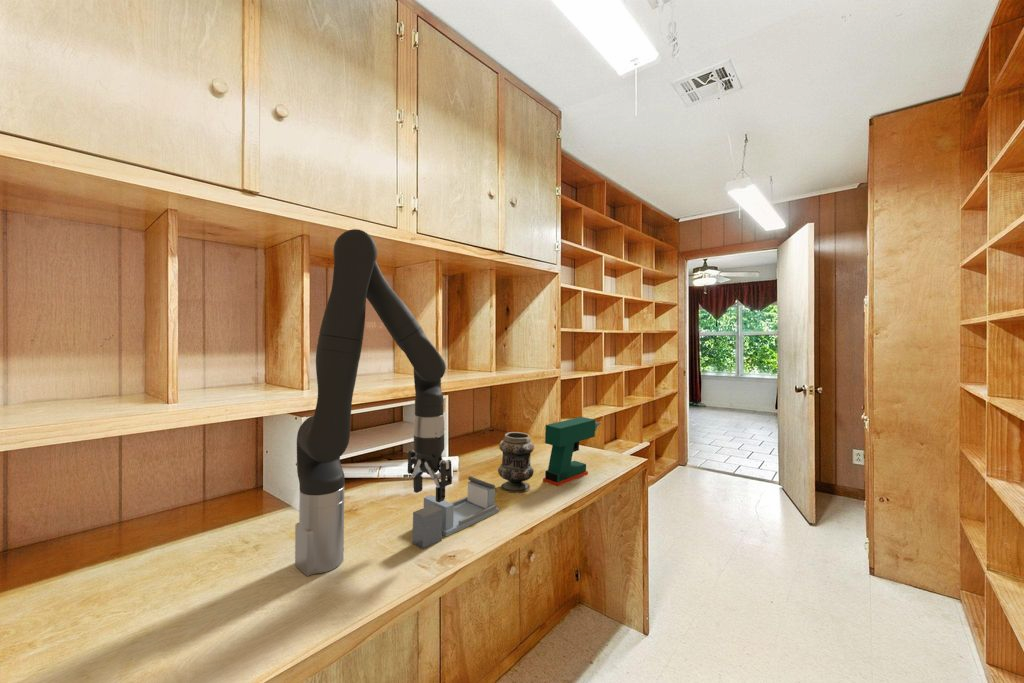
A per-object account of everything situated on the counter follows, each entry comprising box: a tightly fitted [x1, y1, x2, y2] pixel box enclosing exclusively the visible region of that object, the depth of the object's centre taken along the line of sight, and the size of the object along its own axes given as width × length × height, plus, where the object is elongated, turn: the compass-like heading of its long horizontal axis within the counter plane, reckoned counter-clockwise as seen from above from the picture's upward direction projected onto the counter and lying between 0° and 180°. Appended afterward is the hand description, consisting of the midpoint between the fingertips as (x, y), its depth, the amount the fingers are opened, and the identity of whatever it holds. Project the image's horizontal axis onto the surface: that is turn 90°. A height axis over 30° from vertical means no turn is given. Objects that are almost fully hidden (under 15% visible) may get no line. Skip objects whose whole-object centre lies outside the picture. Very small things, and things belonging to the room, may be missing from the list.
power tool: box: [542, 416, 602, 487], centre depth 159 cm, size 32×7×20 cm, turn 136°
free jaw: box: [466, 475, 496, 509], centre depth 127 cm, size 3×10×7 cm, turn 50°
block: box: [412, 505, 443, 550], centre depth 106 cm, size 4×6×8 cm, turn 140°
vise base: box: [423, 494, 500, 537], centre depth 120 cm, size 20×11×7 cm, turn 140°
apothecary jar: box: [497, 431, 535, 494], centre depth 144 cm, size 12×12×18 cm
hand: (428, 496), depth 106 cm, fingers open, 8 cm apart
